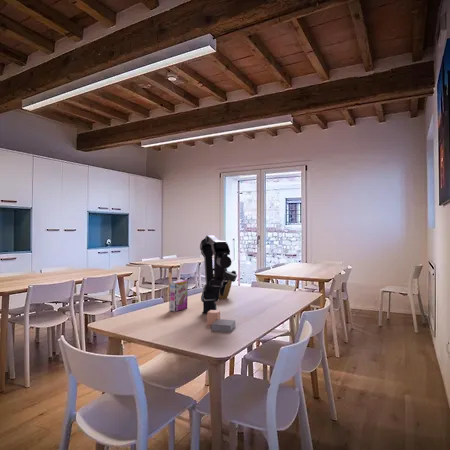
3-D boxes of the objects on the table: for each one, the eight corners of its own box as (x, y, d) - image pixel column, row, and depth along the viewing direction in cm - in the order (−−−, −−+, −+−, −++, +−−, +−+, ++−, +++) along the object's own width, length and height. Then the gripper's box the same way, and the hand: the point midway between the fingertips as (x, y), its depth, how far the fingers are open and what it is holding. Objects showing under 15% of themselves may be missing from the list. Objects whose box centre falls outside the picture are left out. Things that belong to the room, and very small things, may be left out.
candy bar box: (175, 312, 184) (175, 282, 185) (168, 311, 187) (168, 282, 187) (188, 308, 194) (188, 280, 194) (181, 307, 196) (181, 279, 197)
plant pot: (232, 300, 214) (232, 275, 215) (210, 300, 215) (210, 275, 215) (232, 296, 229) (232, 272, 229) (211, 296, 230) (211, 272, 230)
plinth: (211, 330, 151) (211, 324, 151) (217, 325, 159) (217, 318, 160) (230, 332, 148) (230, 325, 148) (235, 326, 157) (235, 320, 157)
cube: (207, 324, 161) (207, 312, 161) (210, 321, 166) (210, 309, 166) (217, 325, 159) (217, 312, 160) (220, 322, 164) (220, 310, 164)
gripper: (231, 268, 153) (231, 302, 153) (239, 264, 172) (239, 294, 171) (208, 268, 156) (208, 301, 156) (218, 264, 174) (218, 293, 174)
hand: (219, 297), depth 164 cm, fingers open, 9 cm apart
